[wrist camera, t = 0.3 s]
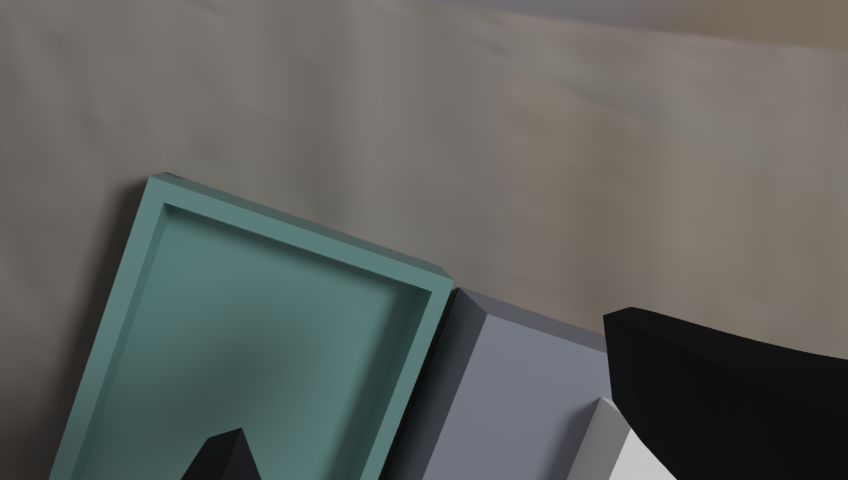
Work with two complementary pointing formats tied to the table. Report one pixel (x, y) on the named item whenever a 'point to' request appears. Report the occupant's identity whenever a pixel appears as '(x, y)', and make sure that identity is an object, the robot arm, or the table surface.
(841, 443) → the robot arm
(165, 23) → the table surface
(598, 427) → the tile
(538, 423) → the board
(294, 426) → the box
